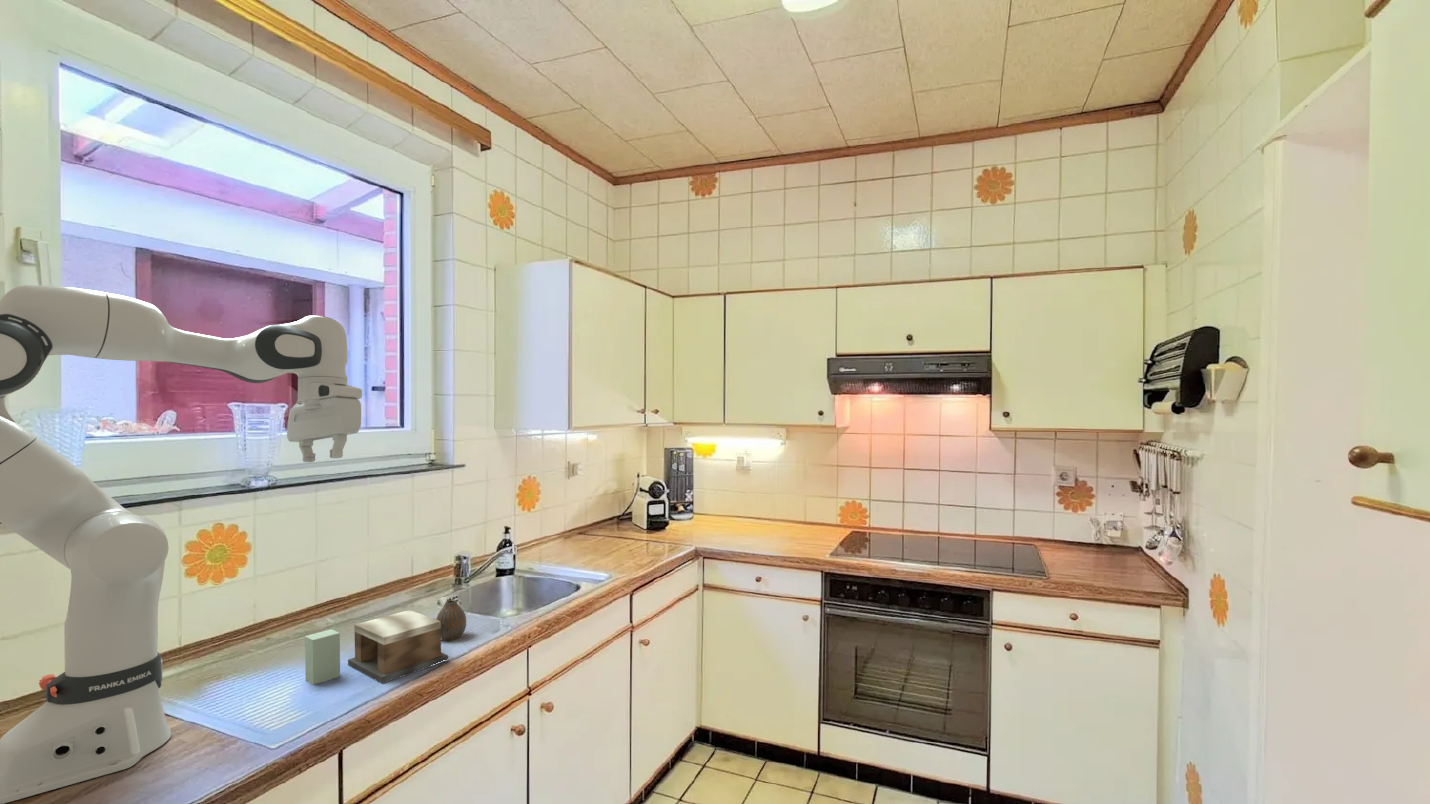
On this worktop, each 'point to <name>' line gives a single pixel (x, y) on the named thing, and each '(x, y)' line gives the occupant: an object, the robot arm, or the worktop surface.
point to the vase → (451, 621)
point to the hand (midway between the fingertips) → (322, 460)
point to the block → (322, 656)
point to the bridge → (397, 645)
